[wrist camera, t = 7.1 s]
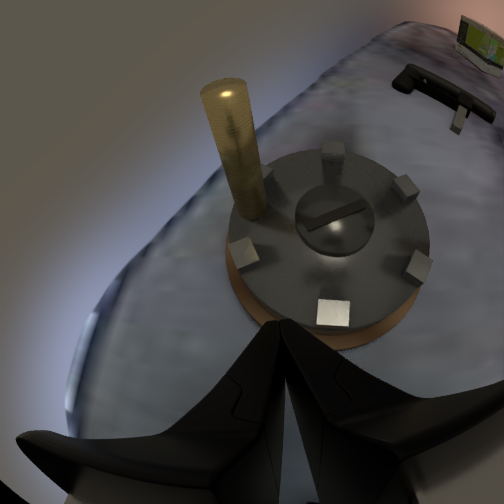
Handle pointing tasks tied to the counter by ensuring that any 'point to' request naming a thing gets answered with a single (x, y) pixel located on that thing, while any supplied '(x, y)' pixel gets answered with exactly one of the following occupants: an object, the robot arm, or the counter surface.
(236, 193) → the ring nut
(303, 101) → the counter surface
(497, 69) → the tea box
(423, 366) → the counter surface
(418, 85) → the door handle
